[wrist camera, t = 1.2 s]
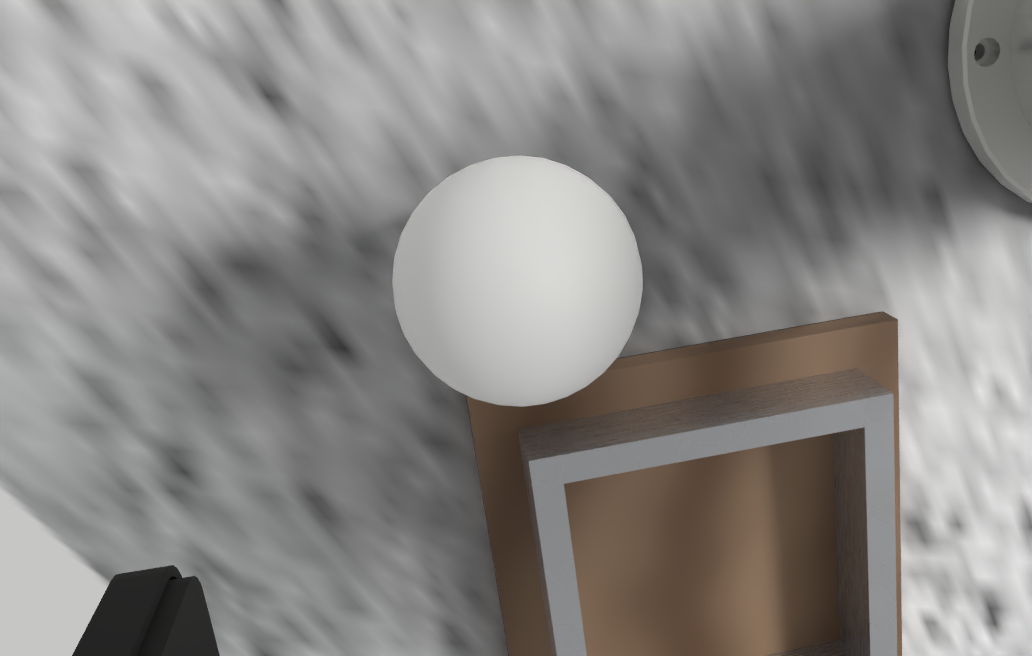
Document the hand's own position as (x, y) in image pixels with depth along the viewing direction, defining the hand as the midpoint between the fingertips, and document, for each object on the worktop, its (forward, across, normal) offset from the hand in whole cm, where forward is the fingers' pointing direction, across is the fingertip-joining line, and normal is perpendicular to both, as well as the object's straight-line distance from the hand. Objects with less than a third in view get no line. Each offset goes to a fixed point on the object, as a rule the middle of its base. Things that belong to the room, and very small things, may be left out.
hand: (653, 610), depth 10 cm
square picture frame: (+22, -6, +13) cm, 27 cm away
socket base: (+22, -6, +13) cm, 27 cm away
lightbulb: (+22, 0, 0) cm, 22 cm away
